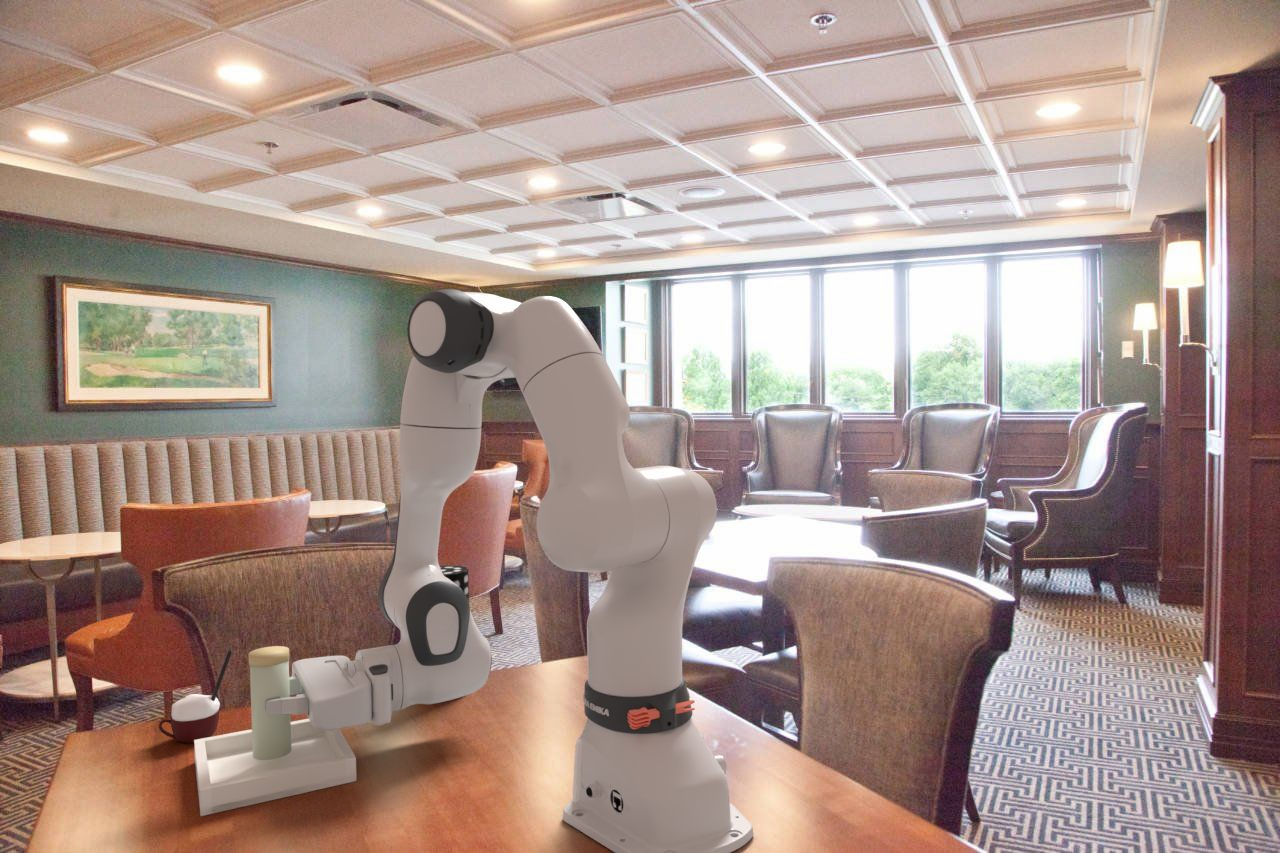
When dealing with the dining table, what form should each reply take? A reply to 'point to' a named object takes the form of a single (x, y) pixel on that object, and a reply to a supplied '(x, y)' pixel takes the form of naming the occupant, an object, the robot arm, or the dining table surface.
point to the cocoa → (196, 714)
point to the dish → (269, 767)
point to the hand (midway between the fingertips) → (263, 700)
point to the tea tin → (267, 683)
